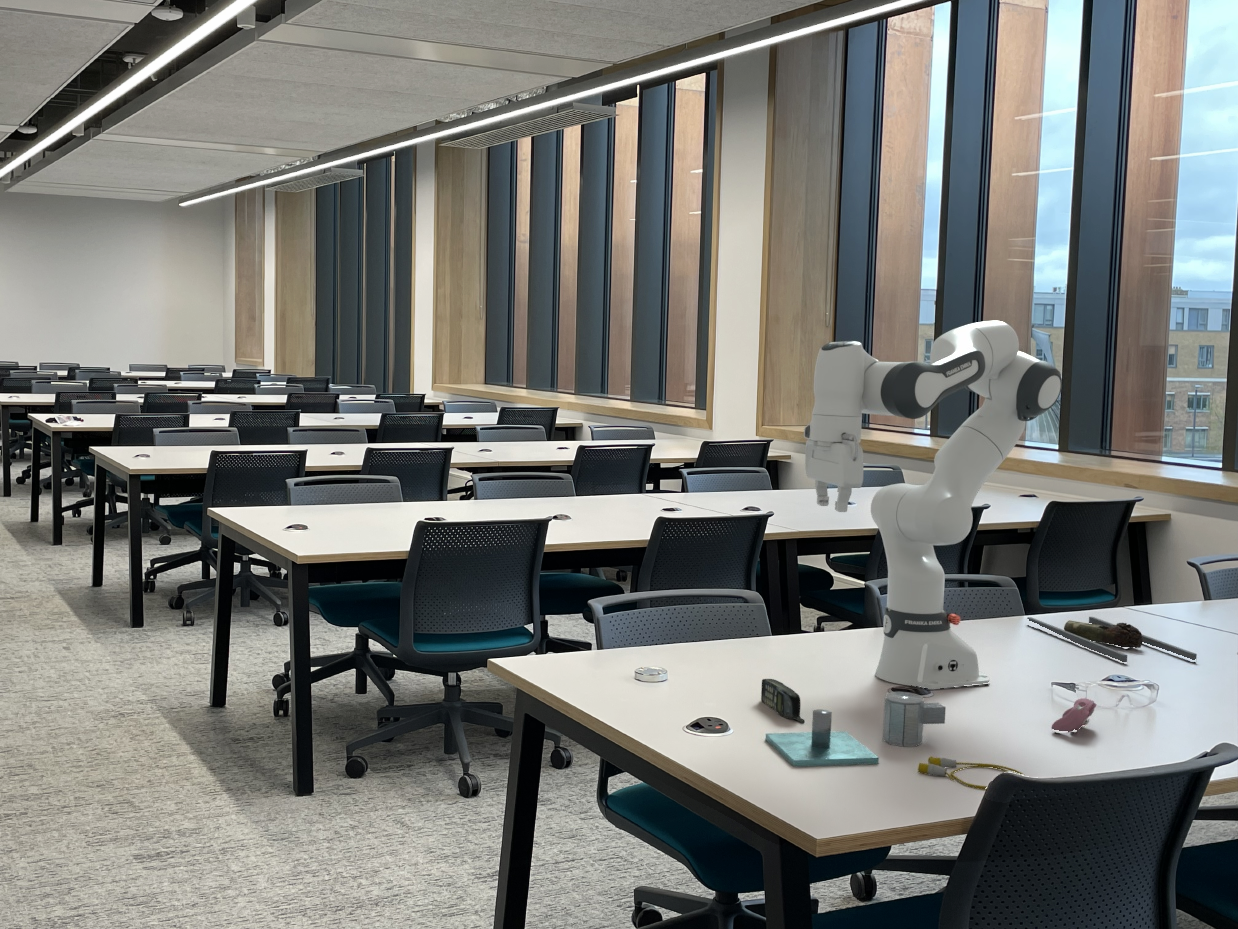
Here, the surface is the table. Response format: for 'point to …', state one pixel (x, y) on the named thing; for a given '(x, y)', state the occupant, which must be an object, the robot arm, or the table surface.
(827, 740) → the flat teal square plate
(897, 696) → the tabbed metal cylinder
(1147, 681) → the table surface
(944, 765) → the yellow thin looped cord
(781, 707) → the mobile phone
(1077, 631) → the olive brown elongated piece
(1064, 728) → the mauve lumpy piece
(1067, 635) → the pipe rail left
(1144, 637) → the pipe rail right
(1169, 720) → the table surface
